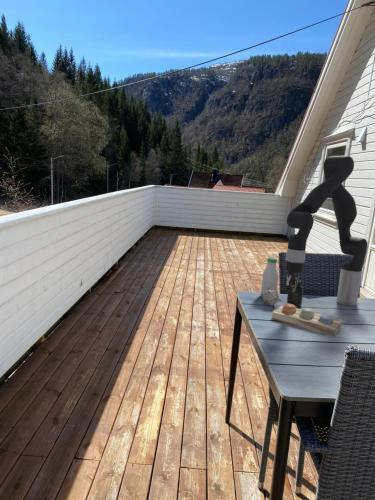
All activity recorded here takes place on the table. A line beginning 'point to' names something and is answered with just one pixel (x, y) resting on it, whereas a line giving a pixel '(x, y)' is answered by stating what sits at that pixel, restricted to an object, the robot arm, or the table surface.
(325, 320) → the slate button
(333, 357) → the table surface
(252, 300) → the table surface
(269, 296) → the game die
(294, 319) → the button panel
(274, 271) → the milk bottle
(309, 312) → the sage button
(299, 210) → the robot arm
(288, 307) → the terracotta button
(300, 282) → the supplement bottle
